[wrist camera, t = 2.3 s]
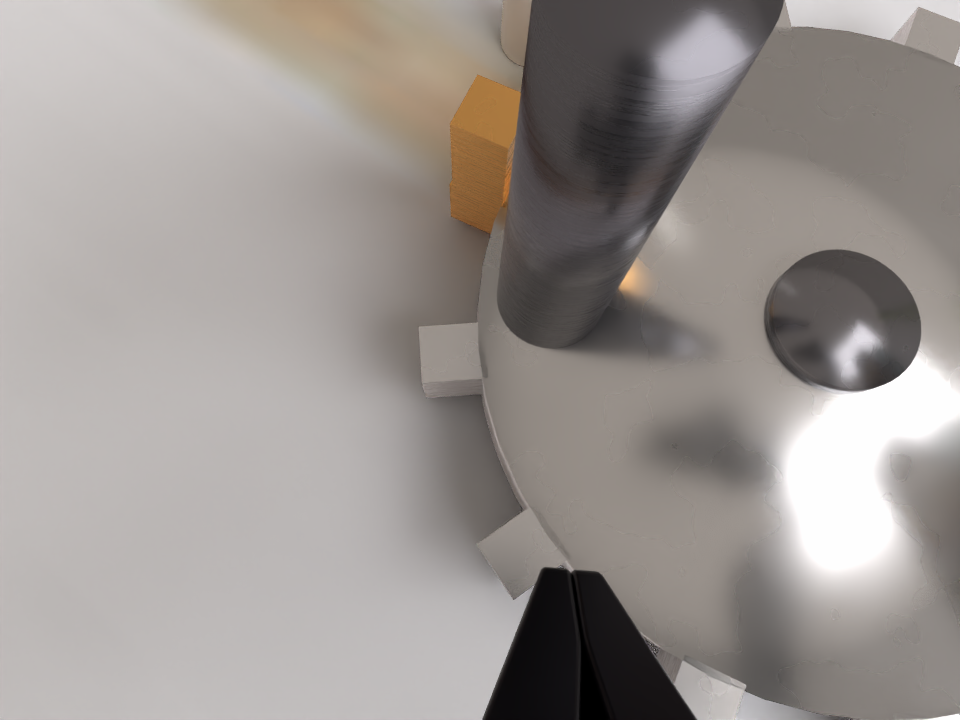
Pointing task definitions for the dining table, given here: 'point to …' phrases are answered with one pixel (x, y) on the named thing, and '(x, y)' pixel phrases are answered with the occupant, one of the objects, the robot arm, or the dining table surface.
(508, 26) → the pointer post
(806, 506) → the sprocket
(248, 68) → the dining table surface
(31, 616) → the dining table surface
